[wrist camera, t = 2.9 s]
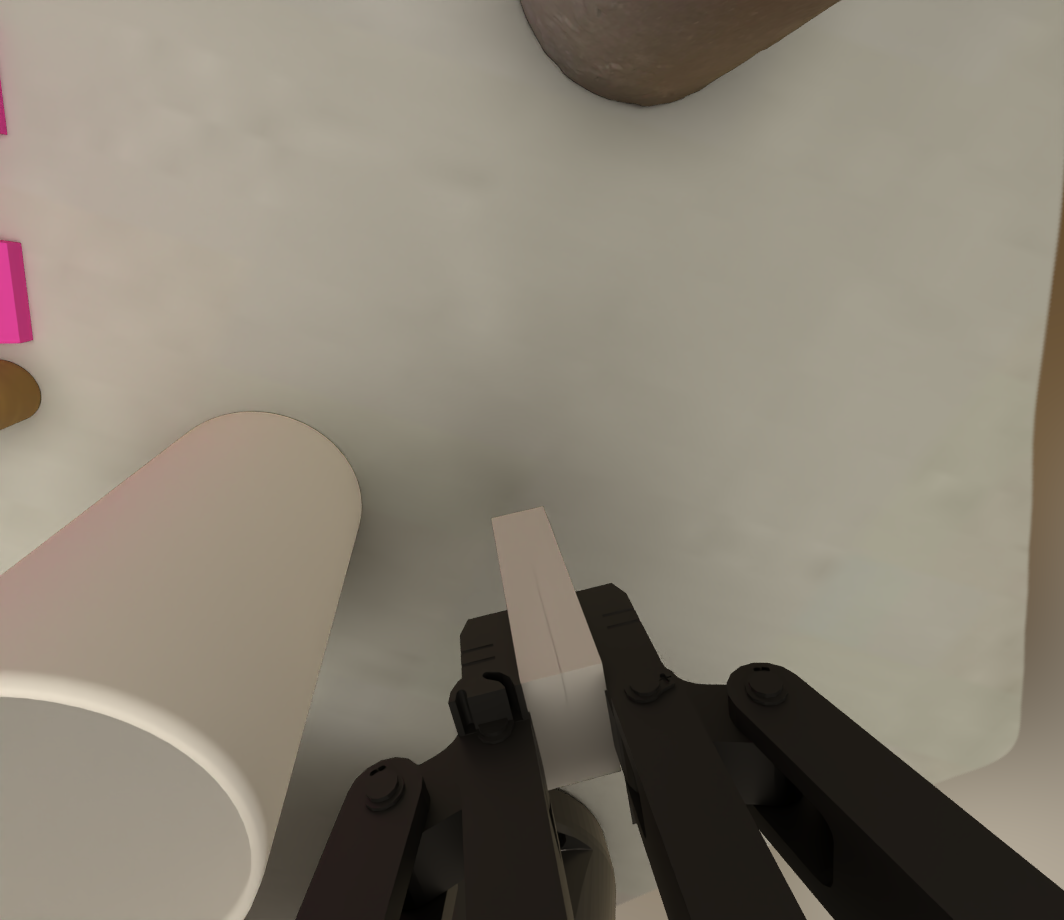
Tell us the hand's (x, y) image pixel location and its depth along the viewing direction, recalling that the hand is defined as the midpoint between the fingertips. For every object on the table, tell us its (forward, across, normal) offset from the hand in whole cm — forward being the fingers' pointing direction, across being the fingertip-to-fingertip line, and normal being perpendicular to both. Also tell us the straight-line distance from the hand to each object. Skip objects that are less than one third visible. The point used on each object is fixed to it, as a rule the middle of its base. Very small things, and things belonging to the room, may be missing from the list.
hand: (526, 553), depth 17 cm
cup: (+10, +10, 0) cm, 14 cm away
